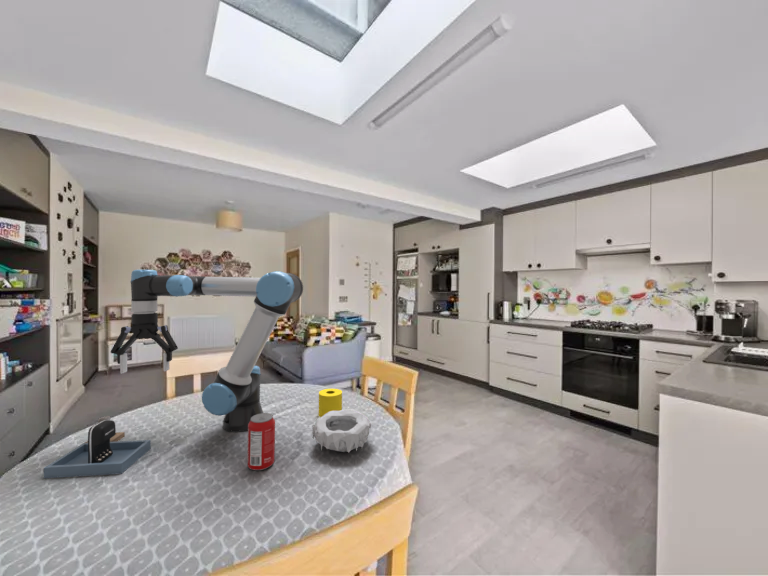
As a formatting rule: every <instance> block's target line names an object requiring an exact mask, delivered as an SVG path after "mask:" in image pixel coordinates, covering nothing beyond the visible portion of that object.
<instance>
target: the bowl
mask: <svg viewBox="0 0 768 576" xmlns="http://www.w3.org/2000/svg"><path fill="white" fill-rule="evenodd" d="M371 428H372V423H371V422H370V419H369V417H368V416H366V414H364V413H362V412H360V411H358V410H356V409H354V408H350V409H349V408H345V409H344V408H342V410H340V411H329V412H328V413H326V414H325V415H324V416H322V417H320V416H318V417H317V418H316V420H315V423H314V424H313V425H312V432H311V433H312V437H311V439H313V440H314V438H315V441H316V443H317V442H318V444H319V445H320V449H321V451H323V450H322V449H323V447H325V449H326V450H331V451H335V452H341V453H342V452H343V453H345V452H348V453H347V454H349V453H350V452H351V451H352V450H355V451H356V452H357V450H358V448H359V447H361V450H362V449H363V448H364V445H365V444H366V442H368V437H369V435H370V429H371Z"/></svg>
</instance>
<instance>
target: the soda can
mask: <svg viewBox="0 0 768 576" xmlns="http://www.w3.org/2000/svg"><path fill="white" fill-rule="evenodd" d="M275 453H276V420H275V418H274V414H272V413H270V412H269V413H267V412H263V413H261V414H256V415H254V416H252V417H251V419H250V422H249V423H248V430H247V467H248V468H249V469H250V470H252V471H262V470H263V471H264V470H266V469H268V468H270V467H271V466H272V465H274V463H275V459H276V458H275V457H276V455H275Z"/></svg>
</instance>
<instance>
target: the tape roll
mask: <svg viewBox="0 0 768 576" xmlns="http://www.w3.org/2000/svg"><path fill="white" fill-rule="evenodd" d="M340 410H343V391H342V390H341V389H339V388H325V389H321V390H320V391H318V417H322V416H324V415H325V414H326V413H328V412H329V411H340Z"/></svg>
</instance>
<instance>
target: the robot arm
mask: <svg viewBox="0 0 768 576" xmlns="http://www.w3.org/2000/svg"><path fill="white" fill-rule="evenodd" d="M130 290H131V292H130V293H131V298H130V299H131V305H130V306H131V307H130V308H131V313H132V314H131V315H130V316H131V317H130V318H131V319H130V320H131V326H128V325H127V326H122V327H121V329H120V334H119V335H118V337H117V339H116V340H115V342H114V343H113V346H112V347H111V349H110V354H114V355H116V357H117V359H116V360H117V362H116V363H117V365H119V370H120V372H119V374H122V375H123V374H125V373H128V353H126V351H128V349H129V348H130V347H131V346H132V345H133V344H134V343H135V342H136V341H137V340H138V339H139V340H142V339H146V340H148V339H151V340H152V341H154V342H155V343H156V344H157V345H158V346H159V347H160V348H161V349H162V350H163V351H164V353H162V354H163V360H162V361H163V372H167V371H169V370H170V362H171V361H173V352H174V351H177V350H178V349H179V348H178V345H177V343H176V342H175V340H174V338H173V337H172V335H171V333H170V332H169V326H168V325H167V324H165V325H161V326H159V325H158V323H159V318H158V316H159V315H158V313H157V311H158V309H159V308H158V297H186V296H216V297H217V296H218V297H219V296H221V297H222V296H223V297H224V296H225V297H252V298H253V297H254V300H253V303H254V306H255V308H254V309H253V312H252V314H251V317H250V318H249V320H248V322H247V324H246V326H245V328H244V330H243V332H242V334H241V336H240V338H239V340H238V341H237V344H236V346H235V348H234V350H233V352H232V354H231V356H230V358H229V360H228V362H227V364H226V366H223V367H221V368H219V370H218V372H217V374H216V376H215V378H214V380H213V382H212V383H209V384H208V385H207V386H206V387H205V388H204V389H203V392H202V394H201V403H202V404H203V407H204V409H205V410H206V412H208V413H210V414H212V415H214V416H218V417H219V416H224V417H223V420H222V428H223V429H224V430H225V431H227V432H233V433H234V432H238V433H239V432H246V431H248V423H249V422H250V419H251V417H252V416H254V415H256V414H261V413H264V411H263V408H262V405H261V394H260V393H261V375H262V374H261V368H260V366H259V365H256V364H257V362H258V360H259V358H260V356H261V354H262V352H263V349H264V348H265V346H266V344H267V341H268V340H269V338H270V336H271V334H272V332H273V330H274V329H275V326H276V324H277V323H278V320H279V318H280V317H282V316H285V315H286V314H287V312H288V309H289V308H290V306H291V304H292V303H295V302H296V301H298V300H299V299H300V298H301V297H302V295H303V292H304V285H303V282H302V280H301V278H300V277H299V276H297V275H296V274H294V273H290V272H283V271H280V270H278V271H276V270H275V271H271V272H268V273H265V274H264V275H262V276H261V277H244V276H243V277H241V276H239V277H238V276H200V275H199V276H198V275H195V276H194V275H190V276H189V275H182V274H173V275H172V274H171V275H170V274H168V275H167V274H166V275H165V274H164V275H159V274H158V271H157V270H155V269H134V270H131V276H130ZM158 331H160V333H161V334H162V336H163V338H164V339H163V338H162V337H161V336H160V334H159V333H158ZM130 332H132V335H131V336H130V337H129V338H128V340H127V341H126V338H127V337H128V335H129V333H130ZM125 341H126V342H125ZM124 342H125V343H124Z"/></svg>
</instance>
